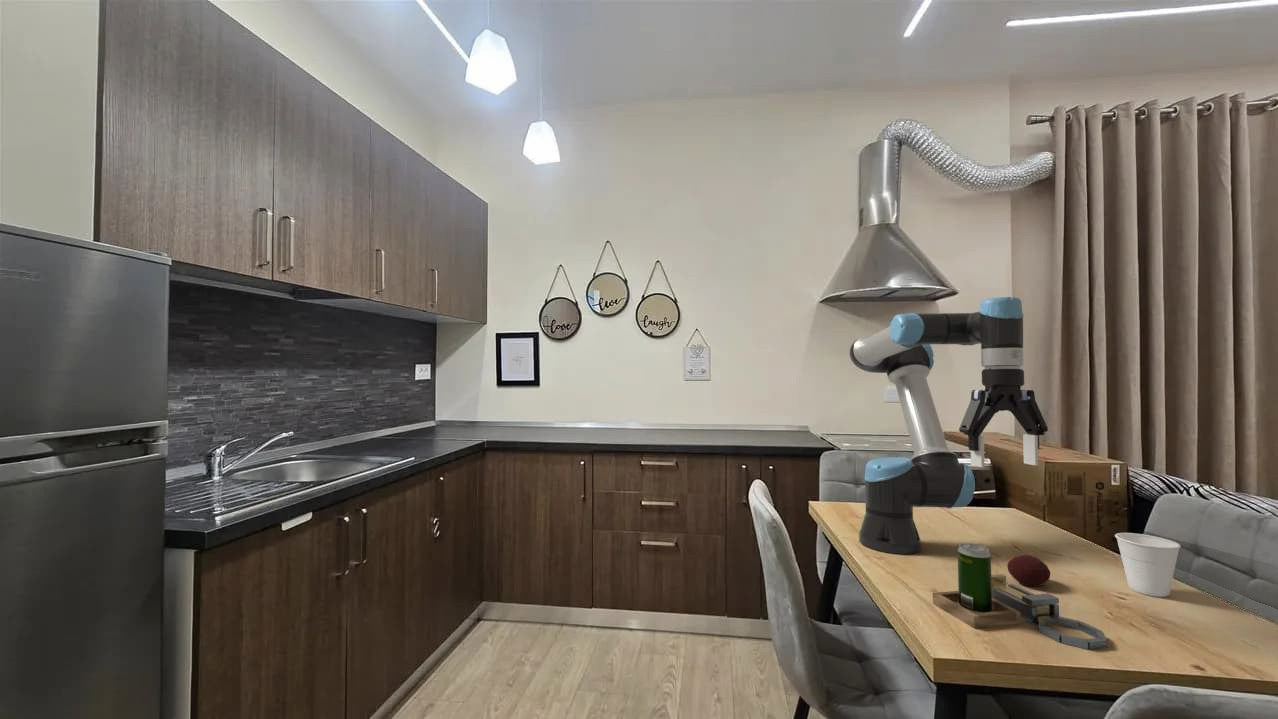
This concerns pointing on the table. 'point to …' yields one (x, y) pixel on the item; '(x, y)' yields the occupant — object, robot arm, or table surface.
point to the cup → (1148, 562)
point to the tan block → (1016, 593)
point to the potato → (1028, 570)
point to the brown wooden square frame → (996, 617)
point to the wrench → (1050, 618)
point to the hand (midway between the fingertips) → (1004, 465)
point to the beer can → (974, 578)
